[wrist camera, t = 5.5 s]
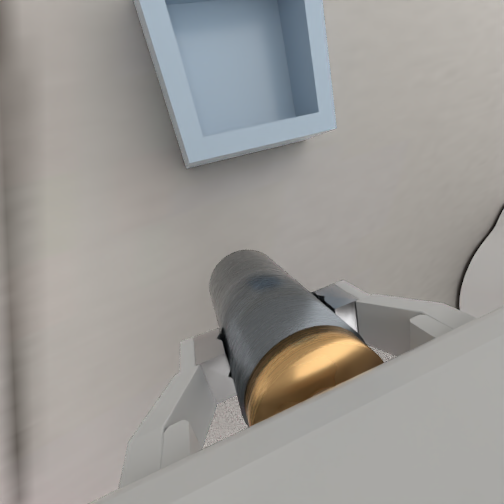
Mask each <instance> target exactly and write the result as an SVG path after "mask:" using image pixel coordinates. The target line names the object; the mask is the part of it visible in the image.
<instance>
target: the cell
mask: <svg viewBox="0 0 504 504" xmlns="http://www.w3.org/2000/svg"><path fill="white" fill-rule="evenodd" d="M209 288H210V294H211V298H212V302H213V306H214V310H215V313H216V317H217V321H218V325H219V329H220V332H221V335H222V339H223V342H224V348H225V350H226V354H227V358H228V361H229V365H230V370H231V374H232V378H233V382H234V386H235V389H236V393H237V397H238V401H239V405H240V408H241V412H242V416H243V418H244V420H245V423H246V424H247V425H248V427H250V426H252V425H254V424H256V423H259V422H261V421H263V420H265V419H267V418H269V417H271V416H273V415H275V414H277V413H280V412H282V411H284V410H286V409H288V408H290V407H292V406H294V405H296V404H298V403H300V402H303V401H305V400H307V399H309V398H311V397H313V396H315V395H317V394H319V393H321V392H323V391H326V390H328V389H330V388H332V387H334V386H336V385H338V384H340V383H342V382H344V381H347V380H349V379H351V378H353V377H355V376H357V375H359V374H361V373H363V372H365V371H367V370H370V369H372V368H374V367H376V366H378V365H380V364H382V363H384V362H383V360H382V359H381V358H380V357H379V356H378V355H377V354H376V353H375V352H374V351H373V350H372V349H370V348H369V347H368V346H367V345H366V343H365V341H364V340H363V338H362V337H361V336H360V334H359V333H358V332H356V331H355V330H354V329H353V328H352V327H350V326H349V325H348V324H347V323H346V322H345V321H343V320H342V319H341V318H340V317H339V316H337V315H336V314H335V313H334V312H333V311H332V310H330V309H329V308H328V307H327V306H326V305H324V304H323V303H322V302H321V301H320V300H319V299H317V298H316V297H315V296H314V295H313V294H311V293H310V292H309V291H308V290H307V289H306V288H304V287H303V286H302V285H301V284H300V283H298V282H297V281H296V280H295V279H294V278H293V277H291V276H290V275H289V274H288V273H287V272H286V271H284V270H283V269H282V268H281V267H280V266H278V265H277V264H276V263H275V262H274V261H273V260H271V259H270V258H269V257H268V256H267V255H265V254H263V253H261V252H259V251H255V250H241V251H237V252H234V253H232V254H230V255H228V256H226V257H225V258H224V259H222V260H221V261H220V262H219V264H218V265H217V266H216V267H215V269H214V271H213V273H212V275H211V278H210V286H209Z"/></svg>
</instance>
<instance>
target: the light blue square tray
mask: <svg viewBox="0 0 504 504" xmlns="http://www.w3.org/2000/svg"><path fill="white" fill-rule="evenodd" d="M133 2H134V5H135V8H136V11H137V14H138V17H139V21H140V24H141V27H142V30H143V33H144V36H145V40H146V43H147V46H148V49H149V52H150V55H151V59H152V62H153V65H154V68H155V71H156V74H157V78H158V81H159V84H160V87H161V90H162V93H163V97H164V100H165V103H166V106H167V109H168V112H169V116H170V119H171V122H172V125H173V128H174V131H175V135H176V138H177V141H178V144H179V147H180V150H181V154H182V157H183V160H184V163H185V166H186V169H187V168H192V167H196V166H200V165H204V164H208V163H212V162H216V161H221V160H225V159H229V158H233V157H237V156H241V155H245V154H250V153H254V152H258V151H262V150H266V149H270V148H274V147H279V146H283V145H287V144H291V143H295V142H299V141H303V140H307V139H309V138H312V137H315V136H317V135H320V134H323V133H325V132H328V131H331V130H334V129H336V128H337V127H336V118H335V109H334V100H333V91H332V82H331V73H330V64H329V55H328V46H327V37H326V28H325V19H324V10H323V1H322V0H133Z"/></svg>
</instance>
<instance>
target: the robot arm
mask: <svg viewBox="0 0 504 504" xmlns="http://www.w3.org/2000/svg"><path fill="white" fill-rule="evenodd" d="M311 294H313V295H314V296H315V297H316V298H317V299H319V300H320V301H321V302H322V303H323V304H324V305H326V306H327V307H328V308H329V309H330V310H332V311H333V312H334V313H335V314H336V315H337V316H339V317H340V318H341V319H342V320H343V321H345V322H346V323H347V324H348V325H349V326H350V327H352V328H353V329H354V330H355V331H356V332H358V333H359V334H360V336H361V337H362V338H363V340H364V341H365V343H366V345H369V346H372V347H374V348H377V349H379V350H382V351H384V352H387V353H390V354H392V355H395V356H397V357H395V358H393V359H391V360H389V361H386V362H384V363H382V364H380V365H378V366H376V367H374V368H372V369H370V370H367V371H365V372H363V373H361V374H359V375H357V376H355V377H353V378H351V379H349V380H347V381H344V382H342V383H340V384H338V385H336V386H334V387H332V388H330V389H328V390H326V391H323V392H321V393H319V394H317V395H315V396H313V397H311V398H309V399H307V400H305V401H303V402H300V403H298V404H296V405H294V406H292V407H290V408H288V409H286V410H284V411H282V412H280V413H277V414H275V415H273V416H271V417H269V418H267V419H265V420H263V421H261V422H259V423H256V424H254V425H252V426H250V427H248V428H246V429H244V430H242V431H240V432H238V433H235V434H233V435H231V436H229V437H227V438H225V439H223V440H221V441H219V442H217V443H215V444H212V445H210V446H208V447H206V448H204V449H202V448H203V445H204V442H205V439H206V436H207V433H208V430H209V428H210V425H211V422H212V419H213V416H214V413H215V410H216V407H217V405H216V404H218V403H221V402H223V401H225V400H227V399H229V398H231V397H233V396H235V395H237V393H236V389H235V386H234V382H233V378H232V374H231V370H230V365H229V361H228V358H227V354H226V350H225V348H224V342H223V339H222V335H221V332H220V329H219V328H216V329H213V330H211V331H208V332H205V333H202V334H199V335H197V336H194V337H191V338H188V339H186V340H183V341H181V342H180V364H179V373H177V374H175V375H174V377H173V378H172V380H171V381H170V383H169V384H168V386H167V387H166V389H165V390H164V391H163V393H162V394H161V396H160V397H159V399H158V400H157V402H156V403H155V404H154V406H153V407H152V409H151V410H150V412H149V413H148V415H147V416H146V418H145V419H144V420H143V422H142V423H141V425H140V426H139V428H138V429H137V431H136V432H135V433H134V435H133V436H132V438H131V439H130V441H129V442H128V446H127V451H126V455H125V460H124V465H123V470H122V475H121V479H120V484H119V489H118V490H116V491H114V492H112V493H110V494H108V495H105V496H103V497H101V498H99V499H97V500H95V501H93V502H91V503H89V504H504V209H503V211H502V213H501V215H500V217H499V219H498V221H497V224H496V226H495V227H494V229H493V230H492V232H491V233H490V234H489V236H488V237H487V238H486V239H485V241H484V242H483V243H482V244H481V246H480V247H479V249H478V250H477V252H476V253H475V255H474V257H473V259H472V261H471V263H470V265H469V267H468V269H467V271H466V274H465V277H464V280H463V283H462V287H461V292H460V302H459V307H460V310H458V309H456V308H453V307H451V306H449V305H447V304H445V303H440V302H432V301H425V300H417V299H409V298H402V297H394V296H387V295H379V294H372V295H369V294H368V293H366V292H364V291H363V290H361V289H359V288H357V287H356V286H354V285H352V284H351V283H349V282H347V281H346V280H341V281H338V282H336V283H333V284H332V285H329V286H327V287H324V288H322V289H319V290H317V291H314V292H312V293H311Z"/></svg>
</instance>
